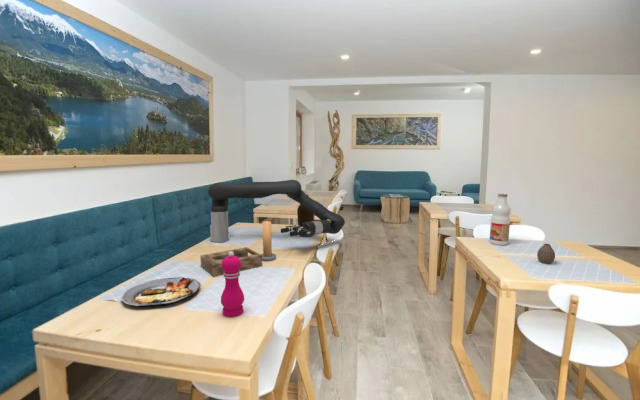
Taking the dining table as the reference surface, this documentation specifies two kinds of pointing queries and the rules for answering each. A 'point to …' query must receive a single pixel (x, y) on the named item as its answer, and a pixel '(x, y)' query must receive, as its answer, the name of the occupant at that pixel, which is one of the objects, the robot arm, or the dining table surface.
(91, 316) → the dining table surface
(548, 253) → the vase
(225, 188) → the robot arm
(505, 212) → the fruit juice
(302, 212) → the olive oil
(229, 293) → the pepper mill
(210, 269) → the keyhole base
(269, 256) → the peg
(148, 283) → the food plate
